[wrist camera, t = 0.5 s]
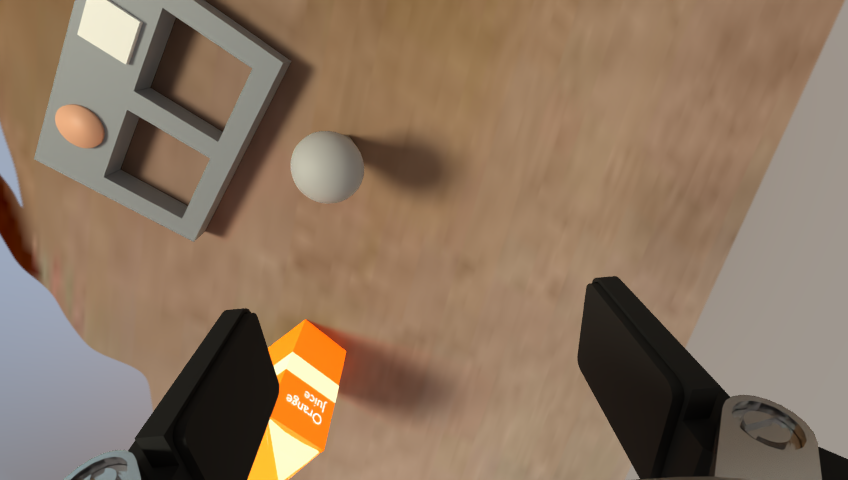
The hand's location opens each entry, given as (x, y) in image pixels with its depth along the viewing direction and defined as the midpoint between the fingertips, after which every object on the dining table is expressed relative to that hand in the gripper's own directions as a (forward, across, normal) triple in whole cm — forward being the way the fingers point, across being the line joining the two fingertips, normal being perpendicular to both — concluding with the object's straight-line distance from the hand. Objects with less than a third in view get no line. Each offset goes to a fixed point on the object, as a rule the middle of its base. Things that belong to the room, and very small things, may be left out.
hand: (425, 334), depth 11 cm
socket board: (+32, +24, -4) cm, 41 cm away
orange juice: (+34, +17, +29) cm, 47 cm away
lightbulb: (+32, +7, +1) cm, 33 cm away
